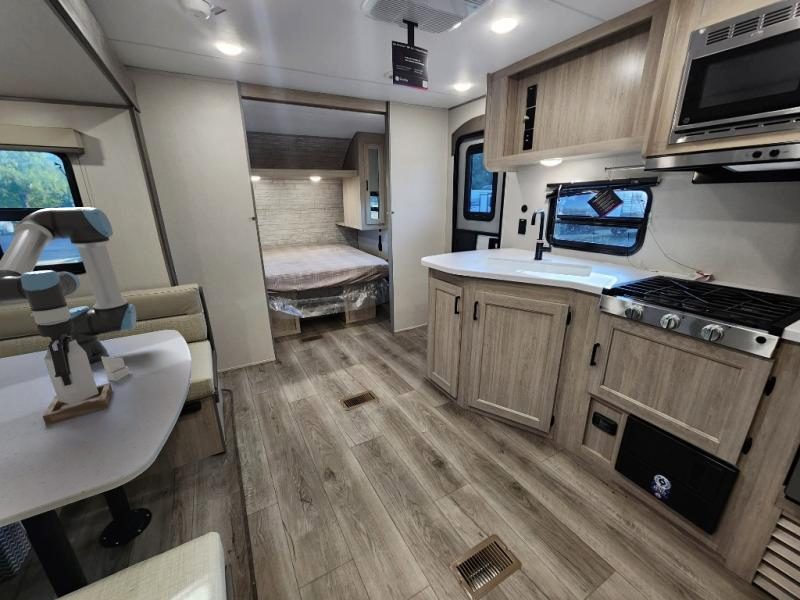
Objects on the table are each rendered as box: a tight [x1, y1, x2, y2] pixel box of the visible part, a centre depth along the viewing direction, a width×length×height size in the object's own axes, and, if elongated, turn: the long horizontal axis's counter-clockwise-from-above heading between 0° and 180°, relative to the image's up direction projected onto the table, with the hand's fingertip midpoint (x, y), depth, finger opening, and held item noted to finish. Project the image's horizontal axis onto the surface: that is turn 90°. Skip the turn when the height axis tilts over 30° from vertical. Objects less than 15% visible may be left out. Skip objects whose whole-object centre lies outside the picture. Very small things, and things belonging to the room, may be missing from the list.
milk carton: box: [43, 340, 98, 405], centre depth 102 cm, size 7×7×19 cm
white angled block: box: [101, 356, 131, 382], centre depth 124 cm, size 4×10×9 cm
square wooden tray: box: [42, 382, 113, 426], centre depth 105 cm, size 14×14×3 cm
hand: (75, 386), depth 104 cm, fingers closed on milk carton, 10 cm apart
